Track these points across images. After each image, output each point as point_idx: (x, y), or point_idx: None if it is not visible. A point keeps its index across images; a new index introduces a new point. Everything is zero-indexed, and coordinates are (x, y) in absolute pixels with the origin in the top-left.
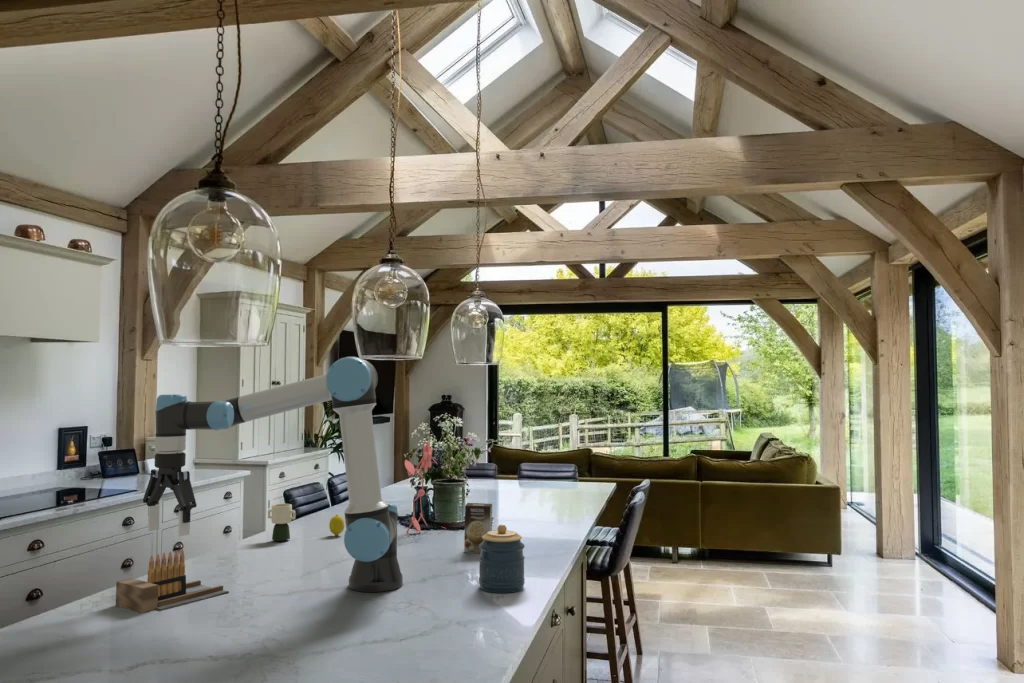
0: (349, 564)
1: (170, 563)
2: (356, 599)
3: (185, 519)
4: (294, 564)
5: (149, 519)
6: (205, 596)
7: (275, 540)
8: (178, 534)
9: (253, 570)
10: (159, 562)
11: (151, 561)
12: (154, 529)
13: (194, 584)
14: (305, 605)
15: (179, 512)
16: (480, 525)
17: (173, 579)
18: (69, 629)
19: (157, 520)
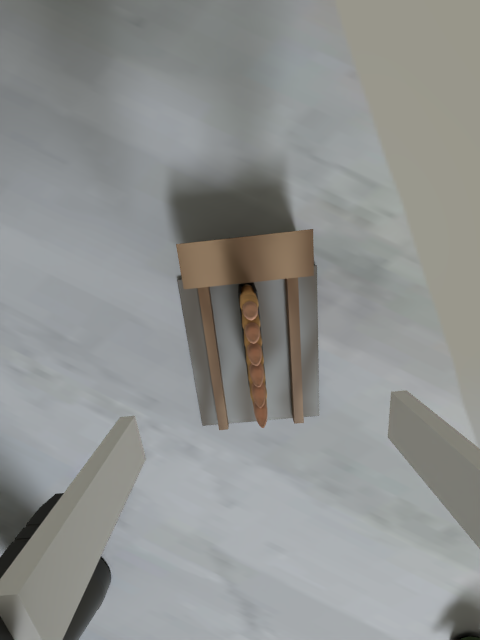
0: (218, 614)
1: (248, 365)
2: (10, 518)
3: (30, 521)
4: (293, 575)
5: (448, 437)
6: (201, 382)
7: (468, 637)
8: (131, 421)
9: (316, 521)
10: (245, 334)
11: (244, 309)
12: (392, 418)
13: (292, 407)
14: (28, 458)
15: (24, 570)
16: None
17: (245, 354)
18: (183, 61)
19: (425, 471)
